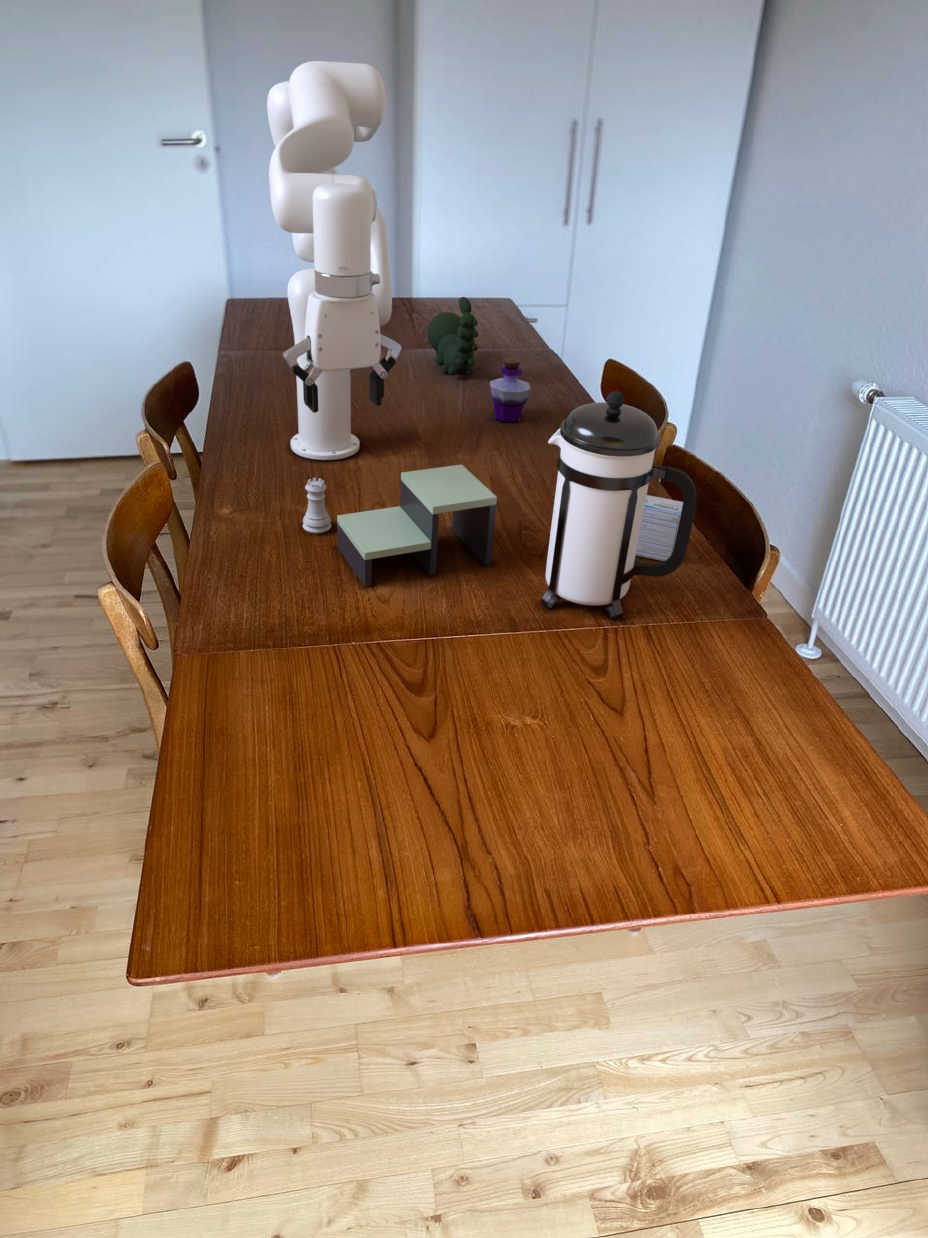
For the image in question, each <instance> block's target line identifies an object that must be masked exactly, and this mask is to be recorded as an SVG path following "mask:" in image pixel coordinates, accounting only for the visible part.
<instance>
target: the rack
mask: <svg viewBox="0 0 928 1238" xmlns="http://www.w3.org/2000/svg"><path fill="white" fill-rule="evenodd" d="M497 502H498V497H497V495H496V494H494V493H493V492H492V491H491V490H490V488H488V487H486V486H485V484H483V482H481V481H480V479H478V477H476V476H475V475H474V474H473V473H472V472H471V471H469V469H467V468H466V467H465V466H464V465H463V464H456V465H448V466H439V467H433V468H432V467H431V468H425V469H424V468H423V469H418V470H411V471H410V470H409V471H403V472H400V502H399V503H400V504H399V505H398V506H393V507H386V508H385V507H384V508H379V509H371V510H366V511H358V512H352V513H345V514H344V513H343V514H339V515H336V517H337V518H336V522H337V523H336V526H337V527H336V528H337V532H336V533H337V549H338V550H339V552H340V554H341V555H342V556H343V557H344V559H345V561H346V562H347V564H348V565H349V566H350V568H351V569H352V571H353V572H354V573H355V575H356V577H357V578H358V579H359V581H360V583H361V584H362V586H364V588H366V587H371V586H372V560H375V559H380V558H385V557H393V556H398V555H404V554H410V553H411V554H412V555H413V556H414V557H415V559H416V560H417V561H418V562H419V563H420V565H421V566H422V567H423V568H424V569H425V571H426V572H427V573H428V574H429V576H430V575H431V576H432V575H436V574H437V564H438V563H437V560H438V543H439V542H438V541H439V540H438V539H439V521H440V520H439V519H440V514H446V513H451V512H452V526H451V527H452V531H453V532H454V533H455V534H456V535H457V536H458V537H459V538H460V539H461V540H462V541H463V543H465V545H466V546H467V547H468V548H469V549H470V550H471V551H472V553H474V554H475V555H476V556H477V558H478V559H479V560H480V561H481V562H482V563H483V564H484V565H486V566H488V565H491V564H492V560H493V558H492V557H493V548H494V536H495V535H494V534H495V525H496V514H497Z"/></svg>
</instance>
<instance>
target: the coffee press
mask: <svg viewBox="0 0 928 1238" xmlns="http://www.w3.org/2000/svg"><path fill="white" fill-rule="evenodd" d="M624 403H625V397H624V394H623V393H622V392H620V391H619V390H613V391H611V392H610V393H608V395H607V396H606V398H605V401H602V402H599V401H598V402H590V403H586V404H583V405H580V406H578V407H576V408H574V409H573V410H572V411H570V412H569V414H568V415H567V417H566V418H565V419H564V420H563V421H562V422H561V423H560V427H559V428H558V429H557V430H556V431H555V433H553V434H552V435H551V437H550V438H549V439H548V441H547V443H548V444H549V445H555V446H558V447H559V451H558V454H557V462H556V468H557V477H556V485H555V493H554V500H553V501H554V502H553V509H552V517H551V526H550V533H549V541H548V549H547V557H546V565H545V582H546V584H547V585H548V587H547V590H546V591H545V593H544V595H543V596H542V597H541V599H540V603H541V604H542V605H543V606H544V607H545V608H546V609H548V610H550V609H552V608H554V607H555V606H556V604H557V603H558V602H559V601H561V600H562V599H564V600H565V601H568V602H571V603H574V604H578V605H584V606H603V607H604V608H605V610H606V613H607V614H608V617H609V619H610V620H612V621H614V620H618V619H621V618H622V617H623V616H624V611H623V607H622V604H621V599H622V598H623V597H625V596H626V594H627V593H628V591H629V589H630V585H631V581H632V578H633V577H634V576H642V577H651V578H658V577H659V578H660V577H666V576H669V575H670V574H672V573H674V572H676V571H677V570H678V569H679V568H680V566H681V565H682V563H683V562H684V559H685V557H686V554H687V551H688V547H689V542H690V537H691V534H692V528H693V524H694V520H695V514H696V510H697V509H696V508H697V490H696V486H695V483H694V481H693V479H692V478H691V477H690V476H689V474H688V473H686V472H685V471H683V470H681V469H679V468H677V467H674V466H669V465H667V466H663V465H655V461H654V458H655V452H656V450H657V449H658V447H659V446H660V443H661V440H662V439H661V434H660V432H659V430H658V427H657V425H656V422H655V421H654V419H653V418H652V416H650V415H648V414H647V413H646V412H644V411H643V410H641V409H639V408H636V407H634V406H630V405H627V404H624ZM652 479H659V480H664V481H665V482H669V483H672V484H674V485H675V486H677V487H678V488H679V490H680V492H681V494H682V499H683V500H682V502H683V506H682V511H681V516H680V521H679V525H678V530H677V535H676V540H675V544H674V549H673V552H672V554H671V556H670V557H669V558H668V559H667V560H666V561H661V562H657V563H653V562H644V561H640V560H638V559H637V558H636V550H637V544H638V539H639V534H640V528H641V523H642V517H643V512H644V507H645V501H646V496H647V495H648V491H649V484H650V483H651V481H652Z"/></svg>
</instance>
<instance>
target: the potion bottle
mask: <svg viewBox="0 0 928 1238" xmlns="http://www.w3.org/2000/svg"><path fill="white" fill-rule="evenodd" d="M503 361H504V363H502V364H500V374H501V375H503V377H499V378H496V379H493V380H490V381H489V387H490V394H491V399H492V403H493V411H494V415H493V417H494V420H495V421H499V422H501V423H511V424H513V423H517V422H519V421H521V416H522V414H523V413H522V412H523V409H524V407H525V405H526V404H527V402H528V398H529V395H530V392H531V389H532V388H531V386H530V383H529V382H528V381H524V380H521V379H519V376H521V375H523V366H522V365H521V360H520V359H518V358H513V357H507V358H505V359H503Z"/></svg>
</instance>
